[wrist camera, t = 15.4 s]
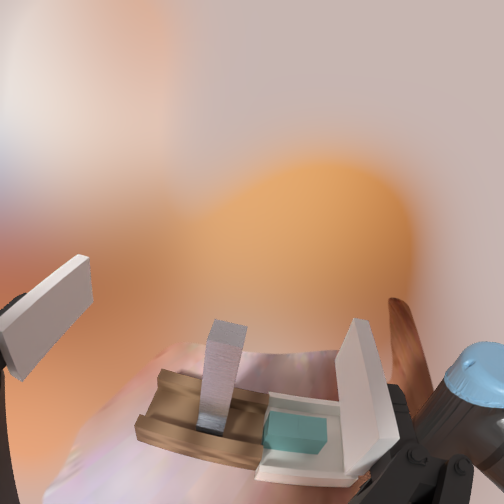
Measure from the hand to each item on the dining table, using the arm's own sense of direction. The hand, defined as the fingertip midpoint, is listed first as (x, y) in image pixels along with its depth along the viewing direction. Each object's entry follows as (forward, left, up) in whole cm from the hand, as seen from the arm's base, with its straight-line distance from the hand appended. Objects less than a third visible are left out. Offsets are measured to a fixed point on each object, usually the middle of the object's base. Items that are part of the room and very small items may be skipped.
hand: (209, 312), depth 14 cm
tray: (-13, -13, -30) cm, 35 cm away
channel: (+1, -13, -30) cm, 33 cm away
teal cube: (-13, -13, -30) cm, 35 cm away
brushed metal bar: (0, -13, -29) cm, 31 cm away
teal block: (-9, -13, -30) cm, 33 cm away
